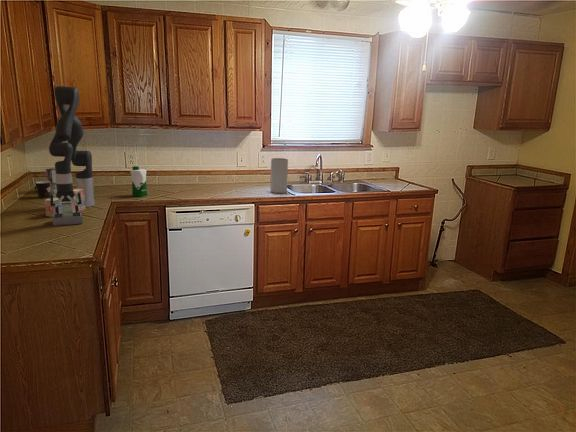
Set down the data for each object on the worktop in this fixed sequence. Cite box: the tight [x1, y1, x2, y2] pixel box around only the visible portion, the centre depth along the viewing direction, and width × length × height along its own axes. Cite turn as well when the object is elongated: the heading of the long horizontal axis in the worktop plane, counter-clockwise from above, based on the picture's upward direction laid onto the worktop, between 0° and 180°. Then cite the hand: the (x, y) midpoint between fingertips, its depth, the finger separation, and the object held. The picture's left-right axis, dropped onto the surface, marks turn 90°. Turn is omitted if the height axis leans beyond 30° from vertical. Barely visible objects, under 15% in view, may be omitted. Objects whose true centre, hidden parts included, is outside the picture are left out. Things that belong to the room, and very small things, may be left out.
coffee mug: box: [34, 180, 51, 199], centre depth 275 cm, size 12×9×10 cm
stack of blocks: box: [44, 188, 86, 218], centre depth 240 cm, size 21×6×12 cm, turn 158°
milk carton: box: [129, 165, 148, 198], centre depth 290 cm, size 9×9×20 cm
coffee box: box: [45, 167, 57, 194], centre depth 293 cm, size 9×6×16 cm
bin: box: [51, 211, 83, 227], centre depth 221 cm, size 10×13×4 cm
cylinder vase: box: [270, 157, 289, 194], centre depth 321 cm, size 12×12×25 cm
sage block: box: [62, 202, 73, 217], centre depth 221 cm, size 5×4×10 cm
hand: (67, 213), depth 221 cm, fingers open, 8 cm apart
